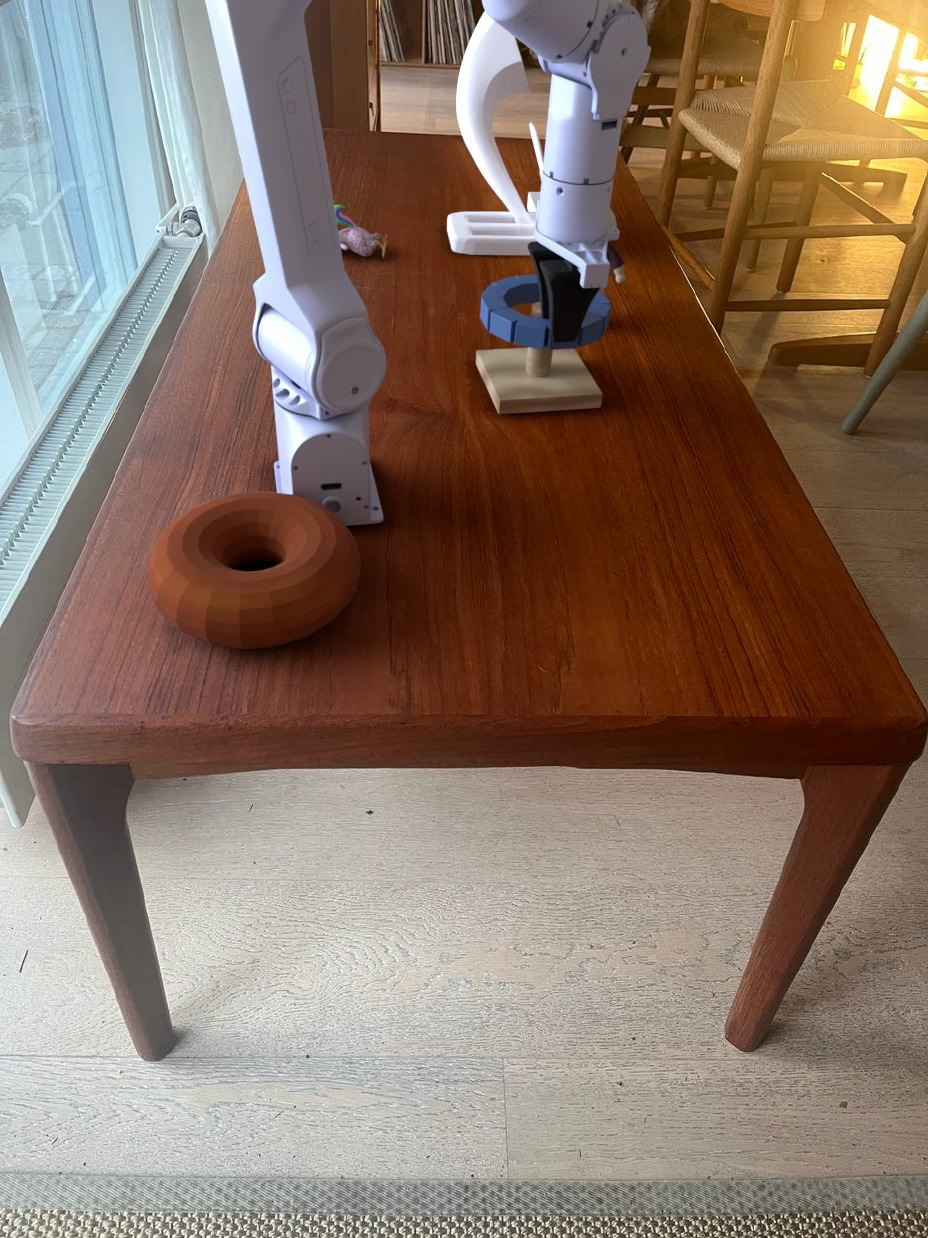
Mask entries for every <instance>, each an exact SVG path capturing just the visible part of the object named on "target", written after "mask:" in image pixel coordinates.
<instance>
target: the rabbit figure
mask: <svg viewBox="0 0 928 1238" xmlns="http://www.w3.org/2000/svg"><path fill="white" fill-rule="evenodd" d="M334 208H335V214H336V220H337V225H340V226H341V225H342V226H348V227H346V228H343V229H340V230H338V232H339V239H340V245H341V250H344V251H348V250H350V251H352V252H353V253H356V254H358V255H360V256H361V257H364V258H365V257H366V258H368V257H370V256H372V255H373V253H374V251H375V249H376V248H377V246H379V247H380V248H381V251H382V254H381V255H382V258H383V259H385V254H386V251H387V250H386V249H387V241H388V239H387V237H388V234H386V235H385V236H383V235H382V234H381V233H380V232H375V233H369V231H367V230H366V229H365V228H363V227H361V226H357V225H356V224H355V223H354V222H353V220H352V219H351V218H350V217H349V216H348V215H346V214H343V213H342V212H341V211H342V210H343V209H345V208H346V206H344V205H342V204H334ZM378 239H381V240H382V243H383V244H382V243H381V242H380V241H379V240H378Z"/></svg>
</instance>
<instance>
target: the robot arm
mask: <svg viewBox="0 0 928 1238" xmlns="http://www.w3.org/2000/svg"><path fill="white" fill-rule="evenodd" d="M312 1H313V0H204V2H205V6H206V11H207V16H208V21H209V25H210V29H211V33H212V38H213V43H214V46H215V51H216V55H217V61H218V64H219V69H220V74H221V78H222V83H223V86H224V91H225V96H226V101H227V105H228V109H229V113H230V117H231V122H232V127H233V131H234V136H235V140H236V144H237V149H238V154H239V157H240V162H241V167H242V172H243V176H244V180H245V185H246V188H247V193H248V198H249V203H250V208H251V211H252V216H253V220H254V225H255V229H256V230H255V231H256V234H257V238H258V243H259V247H260V252H261V256H262V261H263V265H264V266H263V267H264V269H265V272H264V273H263V274H262V275H260V277H259V278H258V279H256V280H255V282H254V283H253V285H252V287H253V292H254V297H255V305H256V306H255V315H254V319H253V323H252V340H253V344H254V346H255V349H256V350H257V352H258V355H259V356H261V358H262V359H264V360H265V361H266V362H268V363H269V364H270V370H271V379H272V382H271V385H272V386H271V387H272V398H273V409H274V420H275V431H276V442H277V453H278V460H276V461H275V462H274V463H273V469H274V477H275V478H274V479H275V487H276V493H284V494H292V495H296V496H299V497H302V498H305V499H308V500H311V501H314V502H317V503H318V504H320V505H321V506H323V507H324V508H326V509H327V510H329V511H330V512H332V513H333V514H335V515H336V516H337V517H338V518H339V519H341V520H342V521H343V522H344V524H345V525H346V527H351V526H364V525H374V524H380V523H383V522H384V512H383V508H382V505H381V501H380V496H379V493H378V489H377V484H376V480H375V477H374V473H373V469H372V464H371V460H370V412H369V411H370V410H369V409H370V408H369V406H370V405H371V404H372V399H373V398H374V397H375V395H376V394H377V393H378V391H379V390H380V388H381V386H382V384H383V382H384V379H385V376H386V370H387V361H388V360H387V354H386V351H385V348H384V346H383V343H382V342H381V341H380V340H379V338H378V337H377V336H376V335H375V334H374V332H373V329H372V327H371V323H370V319H369V312H368V311H369V310H368V309H367V307H366V305H365V303H364V301H363V299H362V298H361V296H360V294H359V292H358V291H357V289H356V288H355V286H354V284H353V282H352V280H351V279H350V277H349V275H348V273H347V272H346V270H345V264H344V259H343V251H342V249H341V245H340V239H339V227H338V223H337V220H336V214H335V208H334V205H335V202H334V197H333V195H334V194H333V190H332V183H331V177H330V172H329V171H330V170H329V165H328V158H327V152H326V146H325V140H324V134H323V128H322V121H321V116H320V115H321V114H320V110H319V104H318V97H317V91H316V86H315V78H314V73H313V72H314V71H313V67H312V66H313V65H312V60H311V54H310V48H309V42H308V35H307V29H306V22H305V13H306V10H307V8H308V7H309V5H310V4H311V2H312ZM481 3H482V7H483V9H484V11H485V12H486V13H487V15H488V16H489V17H490V18H491V19H493V20H494V21H495V22H497V23H498V24H499V25H500V26H502V27H503V28H504V29H506V30H507V31H508V32H509V33H511V34H512V35H513V36H515V38H516V40H518V41H519V42H520V43H522V44H523V45H525V46H526V47H527V48H529V50H531V51H533V52H534V53H535V54H536V56H537V59H538V62H539V65H540V67H541V69H542V70H543V72H544V73H548V74H549V73H550V74H551V80H550V90H549V101H548V110H547V111H548V112H547V122H546V131H545V132H546V133H545V142H544V143H545V144H544V152H543V156H544V162H543V172H542V182H541V181H540V182H541V183H540V191H539V192H540V199H537V209H536V219H535V221H536V223H535V230H534V237H535V239H536V241H534V242H530V243H529V244H528V250H529V253H530V255H529V256H530V258H531V260H532V264H533V267H534V271H535V275H536V276H537V281H538V287H539V296H540V306H541V315H542V318H543V319H549V327H550V334H551V339H552V341H553V342H554V343H557V342H574V341H575V340H576V338H577V336H578V333H579V331H580V328H581V326H582V323H583V321H584V318H585V316H586V313H587V311H588V309H589V306H590V304H591V303H592V301H593V299H594V297H595V296H596V294H597V293H598V291H599V290H600V288H601V287H605V288H607V287H608V283H609V282H608V281H609V278H610V274H611V267H610V263H609V261H608V259H607V245H608V242H609V241H617V240H619V239H620V233H621V231H620V229H619V228H618V226H615V225H614V224H609V223H608V216H609V209H611V201H612V194H613V189H614V188H613V187H614V181H615V174H616V166H617V160H618V154H619V153H618V152H619V145H620V140H621V139H620V138H621V132H622V125H623V119H624V118H625V117H626V116H627V114H628V110H629V109H631V105H632V99H633V94H634V90H635V88H636V86H637V84H638V82H639V81H640V79H641V77H642V76H643V74H644V72H645V70H646V68H647V65H648V62H649V59H650V55H651V51H652V46H651V45H648V34H647V29H646V25H645V24H644V22H643V19H642V16H641V14H640V12H639V11H638V10H637V9H636V8H635V7H634V6H633V5H631V4H628V3H625V2H621V1H617V0H481Z"/></svg>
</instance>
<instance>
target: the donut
mask: <svg viewBox="0 0 928 1238" xmlns="http://www.w3.org/2000/svg"><path fill="white" fill-rule="evenodd" d="M252 562H269V563H270V562H271V563H275V564H276V565H275V566H273V567H269V568H266V569H262V570H251V571H245V570H238V569H234V568H236V567H238V566H240V565H241V566H242V565H245V564H248V563H252ZM361 572H362V564H361V557H360V551H359V546H358V544H357V540H356V537H355V536H354V535H353V533H352V531H350V529H349V528H348V526H346V525H345V524H344V522H343V521H342V520H341V519H339V518H338V517H337V516H336V515H335V514H333V513H332V512H330V511H329V510H327V509H326V508H324V507H323V506H321V505H320V504H318V503H317V502H314V501H311V500H308V499H305V498H302V497H299V496H296V495H292V494H284V493H277V491H276V492H275V491H267V490H263V491H248V492H247V491H246V492H235V493H231V494H228V495H223V496H219V497H215V498H211V499H208V500H206V501H204V502H202V503H200V504H197V505H195V506H193V507H191V508H189V509H187V510H185V511H183V512H182V513H181V514H180V515H179V516H177V517H176V518H174V520H173V521H171V522H170V523H169V524H168V525H166V527H164V529H163V530H162V532H161V533H160V535H159V536H158V538H157V540H156V541H155V543H154V545H153V546H152V548H151V550H150V551H149V555H148V565H147V575H146V576H147V578H146V585H147V588H148V591H149V592H150V594H151V597H152V599H153V601H154V603H155V606H156V608H157V609H158V611H159V613H160V615H161V616H162V617H164V618H165V619H166V620H167V621H168V622H169V623H171V624H172V625H173V626H174V627H175V628H176V629H178V630H179V631H180V632H182V633H184V634H186V635H187V636H189V637H193V638H195V639H198V640H200V641H202V642H205V643H208V644H210V645H213V646H216V647H225V648H233V649H239V650H251V649H252V650H253V649H263V648H265V649H266V648H274V647H276V648H277V647H280V646H282V645H286V644H290V643H292V642H295V641H299V640H301V639H305V638H307V637H309V636H310V635H313V633H316V632H317V631H318V630H320V629H322V628H325V626H327V625H329V624H330V623H331V622H332V621H334V620H336V618H337V616H338V615H339V614H341V612H342V611H343V610H344V609H345V608H346V607H347V605H348V604H349V603H350V602H351V601H352V600H353V596H354V595H355V591H356V589H357V585H358V582H359V580H360V576H361Z"/></svg>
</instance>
